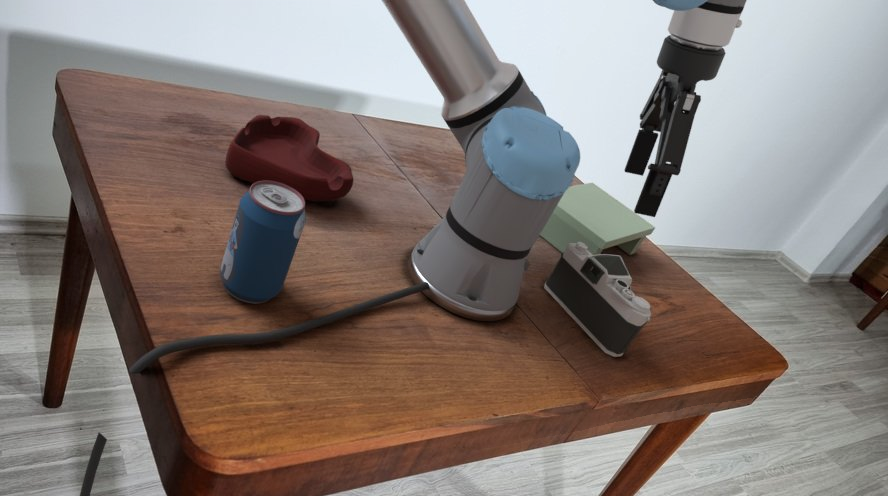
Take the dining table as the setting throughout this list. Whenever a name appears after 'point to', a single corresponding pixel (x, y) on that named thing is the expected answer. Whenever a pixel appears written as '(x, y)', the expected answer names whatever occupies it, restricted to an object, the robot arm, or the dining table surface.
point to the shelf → (594, 221)
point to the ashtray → (288, 159)
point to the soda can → (262, 241)
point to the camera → (598, 297)
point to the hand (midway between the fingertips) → (638, 192)
